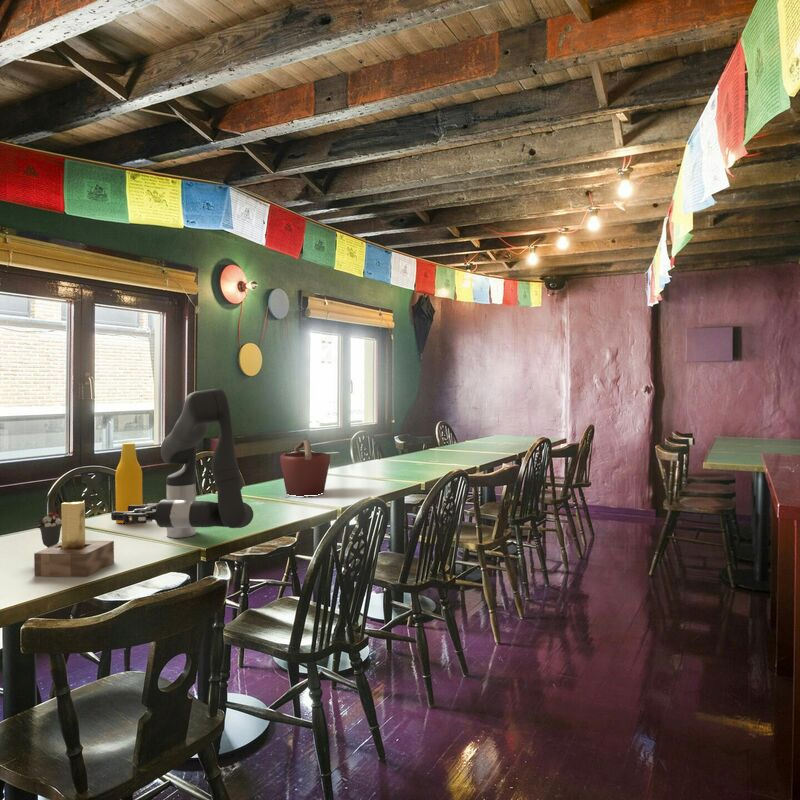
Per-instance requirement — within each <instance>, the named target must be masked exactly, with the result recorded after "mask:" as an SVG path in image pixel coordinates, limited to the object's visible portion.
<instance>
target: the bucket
mask: <svg viewBox="0 0 800 800" xmlns="http://www.w3.org/2000/svg"><path fill="white" fill-rule="evenodd" d="M303 447H304V451H301V448H303ZM279 459H280V461H279V463H280V467H281V471H282V477H283V482H284V483H283V484H284V487H285V492H286V493H285V494H286V495H287V494H289V495H296V496H304V495H318V494H321V493H325V488H326V483H327V477H328V472H329V467H330V464H331V454H330V453H325V452H320V451H319V452H317V451H316V452H315V451H313V452H312V446H311V442H310V440H308V439H304V440H301V441H300V442H299V443H298V444H297V445H296V446H295V447H294V452H288V453H287V452H285V453H282V454H281V455H280V458H279Z"/></svg>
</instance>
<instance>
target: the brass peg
mask: <svg viewBox="0 0 800 800" xmlns="http://www.w3.org/2000/svg"><path fill="white" fill-rule="evenodd" d="M60 506H61V509H60V510H61V513H60V514H61V521H62V526H61V542H62V548H63V550H80V549H82V548H85V540H86V507H85V506H86V504H85V502H84V501H72V502H62V503H61V504H60Z"/></svg>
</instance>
